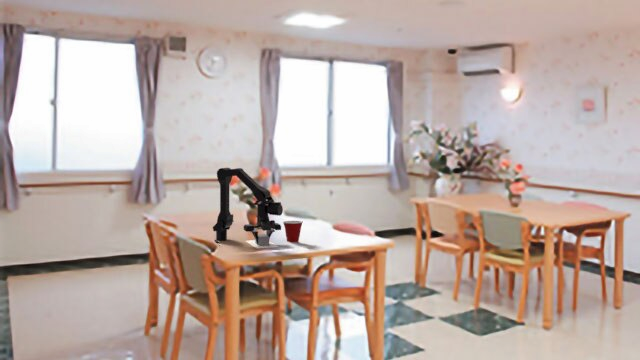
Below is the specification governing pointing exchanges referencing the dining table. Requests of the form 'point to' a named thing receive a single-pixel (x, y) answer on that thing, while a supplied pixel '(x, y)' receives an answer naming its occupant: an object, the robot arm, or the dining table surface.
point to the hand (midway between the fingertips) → (262, 243)
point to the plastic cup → (292, 230)
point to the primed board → (261, 246)
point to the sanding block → (263, 240)
